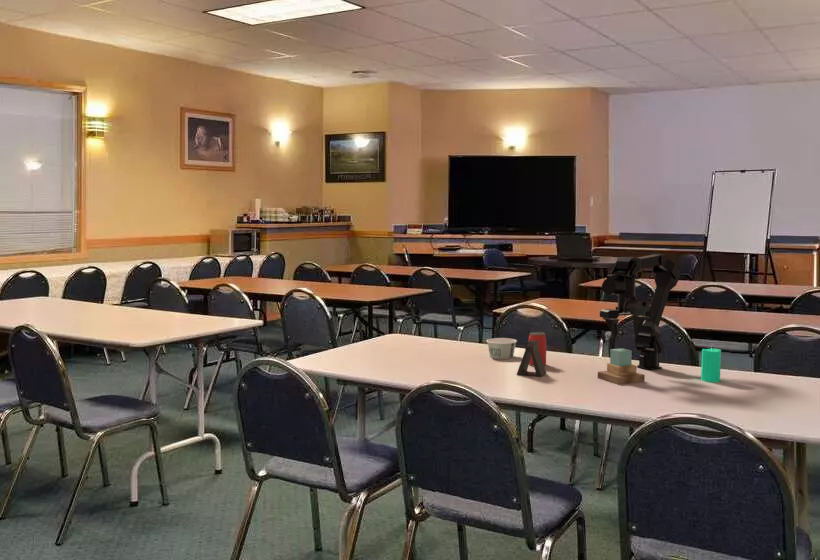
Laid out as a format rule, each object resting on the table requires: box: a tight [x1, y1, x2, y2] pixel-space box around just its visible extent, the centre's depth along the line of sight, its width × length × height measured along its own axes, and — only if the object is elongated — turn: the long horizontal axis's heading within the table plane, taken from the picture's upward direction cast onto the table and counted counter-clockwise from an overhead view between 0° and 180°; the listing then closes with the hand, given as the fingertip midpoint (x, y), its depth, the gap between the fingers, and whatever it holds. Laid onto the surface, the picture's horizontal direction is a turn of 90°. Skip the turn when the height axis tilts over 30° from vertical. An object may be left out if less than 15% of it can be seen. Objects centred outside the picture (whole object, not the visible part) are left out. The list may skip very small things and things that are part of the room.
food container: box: [485, 337, 518, 360], centre depth 311 cm, size 12×12×6 cm
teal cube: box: [609, 347, 633, 366], centre depth 267 cm, size 5×5×5 cm
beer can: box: [528, 331, 547, 367], centre depth 294 cm, size 7×7×12 cm
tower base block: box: [597, 370, 645, 386], centre depth 268 cm, size 11×11×3 cm
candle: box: [700, 344, 722, 383], centre depth 265 cm, size 6×6×12 cm
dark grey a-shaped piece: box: [516, 340, 547, 378], centre depth 277 cm, size 9×6×12 cm, turn 63°
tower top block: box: [606, 362, 638, 376], centre depth 267 cm, size 7×7×3 cm
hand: (625, 336), depth 277 cm, fingers open, 9 cm apart
